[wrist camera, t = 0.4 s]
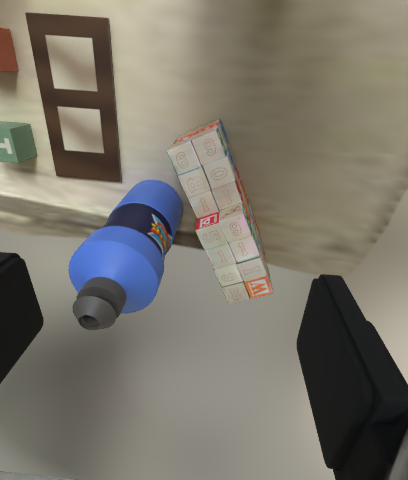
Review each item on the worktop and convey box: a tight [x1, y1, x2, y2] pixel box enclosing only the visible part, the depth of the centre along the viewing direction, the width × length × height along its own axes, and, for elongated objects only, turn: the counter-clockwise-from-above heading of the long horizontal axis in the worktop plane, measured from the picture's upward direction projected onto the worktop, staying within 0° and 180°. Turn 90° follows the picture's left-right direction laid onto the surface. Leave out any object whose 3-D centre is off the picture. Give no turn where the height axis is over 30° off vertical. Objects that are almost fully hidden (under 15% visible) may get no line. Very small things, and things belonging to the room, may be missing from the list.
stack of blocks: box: [167, 119, 273, 304], centre depth 39 cm, size 21×6×12 cm, turn 21°
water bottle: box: [69, 180, 183, 330], centre depth 36 cm, size 9×9×25 cm
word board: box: [25, 13, 122, 181], centre depth 40 cm, size 20×10×1 cm, turn 176°
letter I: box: [0, 121, 37, 163], centre depth 41 cm, size 4×4×5 cm
